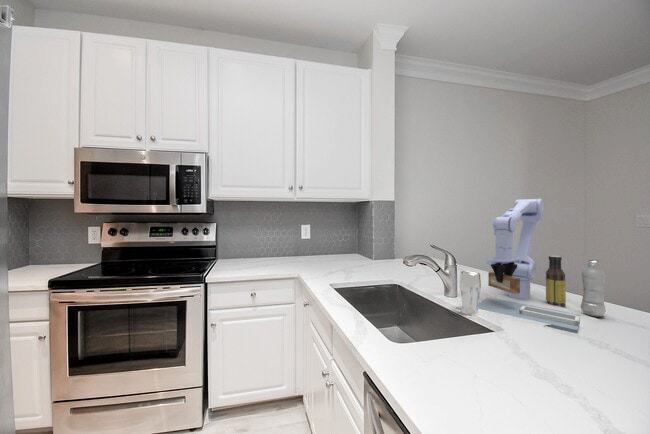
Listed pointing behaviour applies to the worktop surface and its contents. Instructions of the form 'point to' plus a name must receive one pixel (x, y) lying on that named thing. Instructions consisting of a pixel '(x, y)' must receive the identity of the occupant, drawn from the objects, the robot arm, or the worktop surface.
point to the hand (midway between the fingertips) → (503, 281)
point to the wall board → (533, 313)
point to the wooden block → (504, 283)
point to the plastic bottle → (593, 289)
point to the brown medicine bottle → (555, 283)
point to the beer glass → (470, 291)
